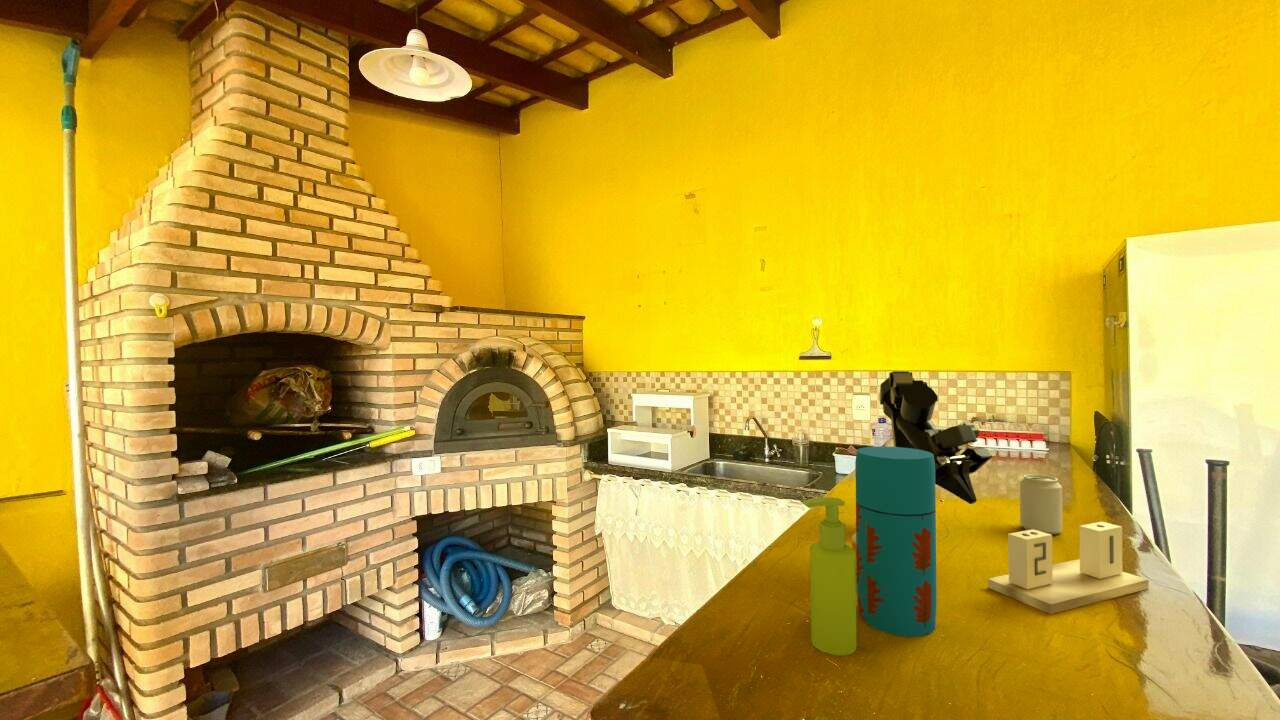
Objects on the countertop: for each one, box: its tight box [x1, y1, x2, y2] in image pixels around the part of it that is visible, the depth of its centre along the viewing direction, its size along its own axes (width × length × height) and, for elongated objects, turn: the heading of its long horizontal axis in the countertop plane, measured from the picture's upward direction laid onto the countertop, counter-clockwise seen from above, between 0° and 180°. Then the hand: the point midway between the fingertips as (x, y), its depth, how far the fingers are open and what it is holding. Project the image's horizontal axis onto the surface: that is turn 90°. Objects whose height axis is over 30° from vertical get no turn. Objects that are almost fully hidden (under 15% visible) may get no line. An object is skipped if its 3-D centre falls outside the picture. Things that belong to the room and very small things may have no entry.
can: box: [1019, 473, 1063, 535], centre depth 118 cm, size 8×8×12 cm
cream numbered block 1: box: [1078, 521, 1124, 579], centre depth 91 cm, size 3×6×8 cm, turn 110°
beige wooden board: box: [987, 558, 1150, 615], centre depth 89 cm, size 10×24×2 cm, turn 110°
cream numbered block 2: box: [1007, 529, 1053, 589], centre depth 88 cm, size 3×6×8 cm, turn 110°
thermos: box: [854, 446, 938, 638], centre depth 80 cm, size 11×11×25 cm
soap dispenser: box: [801, 496, 857, 656], centre depth 73 cm, size 6×7×20 cm
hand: (973, 502), depth 97 cm, fingers closed
